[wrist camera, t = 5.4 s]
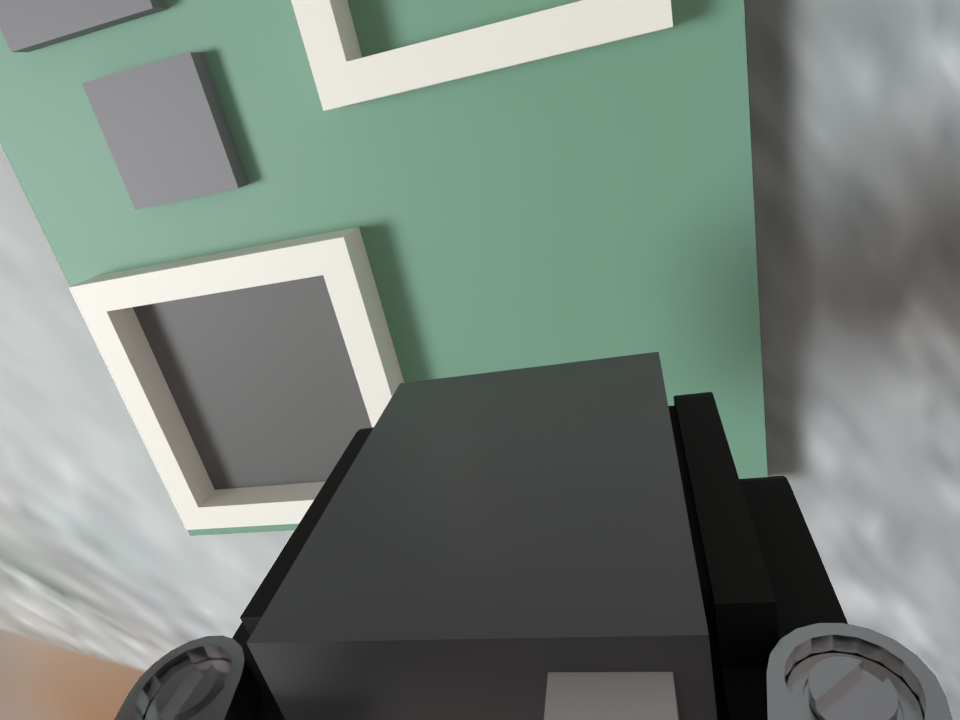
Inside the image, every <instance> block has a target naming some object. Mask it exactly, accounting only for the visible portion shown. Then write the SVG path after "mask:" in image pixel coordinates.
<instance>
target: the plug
mask: <svg viewBox="0 0 960 720" xmlns="http://www.w3.org/2000/svg"><path fill="white" fill-rule="evenodd" d="M247 645H248V647H249V649H250V651H251V653H252V655H253V657H254V659H255V661H256V663H257V665H258V667H259V669H260V671H261V673H262V675H263V677H264V679H265V681H266V683H267V685H268V687H269V689H270V691H271V692H272V694H273V696H274V698H275V700H276V702H277V704H278V706H279V708H280V710H281V712H282V714H283V716H284V718H285V720H717V711H716V701H715V691H714V682H713V672H712V662H711V652H710V643H709V634H708V628H707V622H706V617H705V611H704V605H703V600H702V594H701V588H700V583H699V577H698V571H697V566H696V560H695V554H694V549H693V543H692V537H691V532H690V526H689V520H688V515H687V509H686V503H685V498H684V492H683V487H682V481H681V475H680V470H679V464H678V458H677V453H676V447H675V441H674V436H673V430H672V424H671V419H670V413H669V407H668V402H667V396H666V390H665V385H664V379H663V373H662V368H661V362H660V356H659V352H652V353H643V354H635V355H627V356H619V357H611V358H603V359H594V360H586V361H578V362H570V363H562V364H554V365H546V366H537V367H529V368H521V369H513V370H505V371H497V372H489V373H480V374H472V375H464V376H456V377H448V378H440V379H431V380H423V381H415V382H407V383H400V384H399V386H398V387H397V389H396V391H395V392H394V394H393V396H392V398H391V399H390V401H389V403H388V404H387V406H386V408H385V409H384V411H383V413H382V414H381V416H380V418H379V420H378V421H377V423H376V425H375V426H374V428H373V430H372V431H371V433H370V435H369V436H368V438H367V440H366V442H365V443H364V445H363V447H362V448H361V450H360V452H359V453H358V455H357V457H356V458H355V460H354V462H353V464H352V465H351V467H350V469H349V470H348V472H347V474H346V475H345V477H344V479H343V480H342V482H341V484H340V486H339V487H338V489H337V491H336V492H335V494H334V496H333V497H332V499H331V501H330V502H329V504H328V506H327V508H326V509H325V511H324V513H323V514H322V516H321V518H320V519H319V521H318V523H317V524H316V526H315V528H314V530H313V531H312V533H311V535H310V536H309V538H308V540H307V541H306V543H305V545H304V546H303V548H302V550H301V552H300V553H299V555H298V557H297V558H296V560H295V562H294V563H293V565H292V567H291V568H290V570H289V572H288V574H287V575H286V577H285V579H284V580H283V582H282V584H281V585H280V587H279V589H278V590H277V592H276V594H275V596H274V597H273V599H272V601H271V602H270V604H269V606H268V607H267V609H266V611H265V612H264V614H263V616H262V618H261V619H260V621H259V623H258V624H257V626H256V628H255V629H254V631H253V633H252V634H251V636H250V638H249V640H248V641H247Z"/></svg>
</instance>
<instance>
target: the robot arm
mask: <svg viewBox="0 0 960 720" xmlns="http://www.w3.org/2000/svg"><path fill="white" fill-rule="evenodd" d="M668 407H669V413H670V419H671V424H672V430H673V436H674V441H675V447H676V453H677V458H678V464H679V470H680V475H681V481H682V487H683V492H684V498H685V503H686V509H687V515H688V520H689V526H690V532H691V537H692V543H693V549H694V554H695V560H696V566H697V571H698V577H699V583H700V588H701V594H702V600H703V605H704V611H705V617H706V622H707V628H708V634H709V643H710V652H711V662H712V672H713V682H714V691H715V701H716V711H717V720H952V716H951V713H950V709H949V706H948V702H947V699H946V696H945V694H944V692H943V690H942V688H941V686H940V684H939V682H938V680H937V678H936V676H935V675H934V674H933V673H932V671H931V670H930V669H929V668H928V667H927V666H926V665H925V664H924V663H923V661H922V660H921V659H920V658H919V657H918V656H917V655H916V654H914V653H913V652H911V651H910V650H908V649H907V648H905V647H904V646H903V645H901V644H900V643H898V642H897V641H895V640H894V639H891V638H889V637H887V636H885V635H882V634H880V633H878V632H875V631H873V630H871V629H868V628H863V627H859V626H854V625H849V624H848V623H847V620H846V618H845V616H844V613H843V611H842V608H841V606H840V604H839V601H838V599H837V596H836V594H835V592H834V589H833V587H832V584H831V582H830V580H829V577H828V575H827V573H826V570H825V568H824V565H823V563H822V561H821V558H820V556H819V553H818V551H817V549H816V546H815V544H814V541H813V539H812V537H811V534H810V532H809V529H808V527H807V525H806V522H805V520H804V517H803V515H802V513H801V510H800V508H799V505H798V503H797V501H796V498H795V496H794V493H793V491H792V489H791V486H790V484H789V482H788V480H787V478H786V477H784V476H774V477H760V478H746V479H739V477H738V474H737V470H736V467H735V464H734V461H733V457H732V454H731V451H730V448H729V444H728V441H727V438H726V435H725V431H724V428H723V425H722V422H721V418H720V415H719V412H718V409H717V405H716V402H715V399H714V396H713V393H712V392H705V393H695V394H686V395H676V396H674V405H673V406H668ZM372 430H373V428H364V429H359V430H358V431H357V432H356V434H355V435H354V437H353V439H352V440H351V442H350V443H349V445H348V447H347V448H346V450H345V451H344V453H343V455H342V456H341V458H340V459H339V461H338V463H337V464H336V466H335V467H334V469H333V471H332V472H331V474H330V475H329V477H328V478H327V480H326V482H325V483H324V485H323V486H322V488H321V490H320V491H319V493H318V494H317V496H316V498H315V499H314V501H313V502H312V504H311V506H310V507H309V509H308V510H307V512H306V514H305V515H304V517H303V518H302V520H301V521H300V523H299V525H298V526H297V528H296V529H295V531H294V533H293V534H292V536H291V537H290V539H289V541H288V542H287V544H286V545H285V547H284V549H283V550H282V552H281V553H280V555H279V557H278V558H277V560H276V561H275V563H274V564H273V566H272V568H271V569H270V571H269V572H268V574H267V576H266V577H265V579H264V580H263V582H262V584H261V585H260V587H259V588H258V590H257V592H256V593H255V595H254V596H253V598H252V600H251V601H250V603H249V604H248V606H247V607H246V609H245V611H244V612H243V614H242V615H241V617H240V618H241V620H242V623H241V625H240V627H239V628H238V630H237V631H236V633H235V635H234V636H233V638H228V637H225V636H207V637H203V638H200V639H196V640H193V641H190V642H188V643H186V644H184V645H182V646H180V647H178V648H176V649H174V650H172V651H170V652H169V653H168V654H166V655H165V656H164V657H162V658H161V659H159V660H158V661H157V662H155V663H154V664H153V665H152V666H151V667H150V668H149V669H148V670H147V671H146V672H145V673H144V674H143V675H142V676H141V677H140V678H139V680H138V681H137V682H136V684H135V685H134V687H133V688H132V690H131V691H130V693H129V694H128V696H127V697H126V699H125V701H124V703H123V705H122V706H121V708H120V710H119V712H118V714H117V716H116V717H115V719H114V720H285V718H284V716H283V714H282V712H281V710H280V708H279V706H278V704H277V702H276V700H275V698H274V696H273V694H272V692H271V691H270V689H269V687H268V685H267V683H266V681H265V679H264V677H263V675H262V673H261V671H260V669H259V667H258V665H257V663H256V661H255V659H254V657H253V655H252V653H251V651H250V649H249V647H248V645H247V641H248V640H249V638H250V636H251V634H252V633H253V631H254V629H255V628H256V626H257V624H258V623H259V621H260V619H261V618H262V616H263V614H264V612H265V611H266V609H267V607H268V606H269V604H270V602H271V601H272V599H273V597H274V596H275V594H276V592H277V590H278V589H279V587H280V585H281V584H282V582H283V580H284V579H285V577H286V575H287V574H288V572H289V570H290V568H291V567H292V565H293V563H294V562H295V560H296V558H297V557H298V555H299V553H300V552H301V550H302V548H303V546H304V545H305V543H306V541H307V540H308V538H309V536H310V535H311V533H312V531H313V530H314V528H315V526H316V524H317V523H318V521H319V519H320V518H321V516H322V514H323V513H324V511H325V509H326V508H327V506H328V504H329V502H330V501H331V499H332V497H333V496H334V494H335V492H336V491H337V489H338V487H339V486H340V484H341V482H342V480H343V479H344V477H345V475H346V474H347V472H348V470H349V469H350V467H351V465H352V464H353V462H354V460H355V458H356V457H357V455H358V453H359V452H360V450H361V448H362V447H363V445H364V443H365V442H366V440H367V438H368V436H369V435H370V433H371V431H372Z"/></svg>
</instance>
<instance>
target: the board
mask: <svg viewBox="0 0 960 720" xmlns="http://www.w3.org/2000/svg"><path fill="white" fill-rule="evenodd" d="M0 143H1V146H2V148H3V150H4V152H5V154H6V156H7V158H8V160H9V162H10V164H11V166H12V168H13V170H14V172H15V174H16V177H17V179H18V181H19V183H20V185H21V187H22V189H23V191H24V193H25V195H26V197H27V199H28V201H29V203H30V205H31V207H32V210H33V212H34V214H35V216H36V218H37V220H38V222H39V224H40V226H41V228H42V230H43V232H44V234H45V236H46V238H47V241H48V243H49V245H50V247H51V249H52V251H53V253H54V255H55V257H56V259H57V261H58V263H59V265H60V267H61V269H62V271H63V274H64V276H65V278H66V280H67V282H68V284H69V286H70V287H69V289H70V291H71V293H72V295H73V297H74V300H75V302H76V304H77V306H78V308H79V310H80V312H81V314H82V316H83V318H84V320H85V322H86V324H87V326H88V328H89V330H90V333H91V335H92V337H93V339H94V341H95V343H96V345H97V347H98V349H99V351H100V353H101V355H102V357H103V359H104V361H105V363H106V365H107V368H108V370H109V372H110V374H111V376H112V378H113V380H114V382H115V384H116V386H117V388H118V390H119V392H120V394H121V396H122V398H123V401H124V403H125V405H126V407H127V409H128V411H129V413H130V415H131V417H132V419H133V421H134V423H135V425H136V427H137V429H138V431H139V433H140V436H141V438H142V440H143V442H144V444H145V446H146V448H147V450H148V452H149V454H150V456H151V458H152V460H153V462H154V464H155V466H156V468H157V471H158V473H159V475H160V477H161V479H162V481H163V483H164V485H165V487H166V489H167V491H168V493H169V495H170V497H171V499H172V501H173V504H174V506H175V508H176V510H177V512H178V514H179V516H180V518H181V520H182V522H183V524H184V526H185V528H186V530H188V532H189V534H190V536H194V535H212V534H230V533H248V532H267V531H285V530H295V529H296V528H297V526H298V525H299V523H300V521H301V520H302V518H303V517H304V515H305V514H306V512H307V510H308V509H309V507H310V506H311V504H312V502H313V501H314V499H315V498H316V496H317V494H318V493H319V491H320V490H321V488H322V486H323V485H324V483H325V482H326V480H327V478H328V477H329V475H330V474H331V472H332V471H333V469H334V467H335V466H336V464H337V463H338V461H339V459H340V458H341V456H342V455H343V453H344V451H345V450H346V448H347V447H348V445H349V443H350V442H351V440H352V439H353V437H354V435H355V434H356V432H357V431H358V430H359V429H364V428H374V426H375V425H376V423H377V421H378V420H379V418H380V416H381V414H382V413H383V411H384V409H385V408H386V406H387V404H388V403H389V401H390V399H391V398H392V396H393V394H394V392H395V391H396V389H397V387H398V386H399V384H400V383H407V382H415V381H423V380H431V379H440V378H448V377H456V376H464V375H472V374H480V373H489V372H497V371H505V370H513V369H521V368H529V367H537V366H546V365H554V364H562V363H570V362H578V361H586V360H594V359H603V358H611V357H619V356H627V355H635V354H643V353H652V352H659V356H660V362H661V368H662V373H663V379H664V385H665V390H666V396H667V402H668V406H673V405H674V396H676V395H686V394H695V393H705V392H712V393H713V396H714V399H715V402H716V405H717V409H718V412H719V415H720V418H721V422H722V425H723V428H724V431H725V435H726V438H727V441H728V444H729V448H730V451H731V454H732V457H733V461H734V464H735V467H736V470H737V474H738V477H739V479H746V478H760V477H768V473H767V453H766V433H765V413H764V393H763V373H762V353H761V333H760V313H759V293H758V273H757V253H756V233H755V213H754V193H753V173H752V153H751V133H750V113H749V93H748V73H747V53H746V33H745V13H744V0H0Z"/></svg>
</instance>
